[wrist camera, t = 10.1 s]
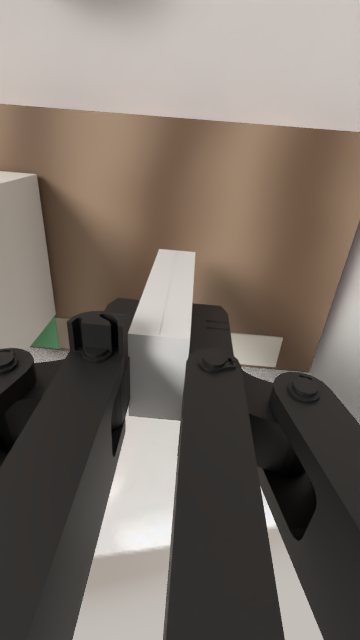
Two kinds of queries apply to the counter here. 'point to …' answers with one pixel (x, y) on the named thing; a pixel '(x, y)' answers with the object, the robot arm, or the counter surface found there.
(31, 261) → the gauge slider
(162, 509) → the counter surface
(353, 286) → the counter surface
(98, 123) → the gauge board
